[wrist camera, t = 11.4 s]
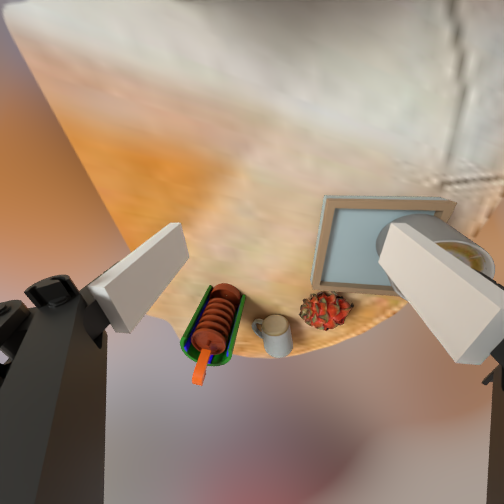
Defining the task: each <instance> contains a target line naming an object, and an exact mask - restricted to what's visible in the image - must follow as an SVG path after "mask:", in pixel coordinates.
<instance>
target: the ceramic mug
mask: <svg viewBox="0 0 504 504" xmlns="http://www.w3.org/2000/svg"><path fill="white" fill-rule="evenodd" d="M256 323H259V324H262V332H261V331H260V330H259V329H258V328H257V327H256ZM252 329H253V331H254V332H255V334H256V335H258V336H259V337H260V338H262V339H263V342H264V347H265V350H266V352H267V353H268V354H269V355H271V356H272V357H275V358H282V357H285V356H287V355H288V354H289V353H290V352H291V351H292V348H293V341H292V335H291V329H290V324H289V322H288V320H287V319H286V318H285V317H284V316H281V315H270V316H268V317H267V318H265V319H264V320H263V319H255V320H254V322H253V323H252Z"/></svg>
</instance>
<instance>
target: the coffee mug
mask: <svg viewBox="0 0 504 504" xmlns="http://www.w3.org/2000/svg"><path fill="white" fill-rule="evenodd" d="M391 223H406V224H408V225H409V226H411V227H412V228H414V229H415V230H417V231H418V232H420V233H421V234H422V235H424V236H425V237H427V238H428V239H430V240H431V241H433V242H434V243H436V244H437V245H438V246H440V247H441V248H443V249H444V250H446V251H447V252H449V253H450V254H451V255H453V256H454V257H456V258H457V259H459V260H460V261H462V262H463V263H465V264H466V265H467V266H469V267H471V268H473V269H475V270H477V271H479V272H482V273H484V274H485V275H487V276H488V277H490V278H491V279H493V277H494V274H495V265H494V261H493V259H492V257H491V256H490V255H489V253H488V252H487V251H485V250H484V249H483V248H481V247H480V246H479V245H477V244H476V243H474V242H473V241H471V240H470V239H468V238H467V237H466V236H464V235H463V234H461V233H460V232H458V231H457V230H455V229H454V228H452V227H451V226H449V225H448V224H447V223H445V222H444V221H442V220H441V219H439V218H437V217H435V216H432V215H428V214H410V215H406V216H402V217H399V218H397V219H395V220H393V221H392V222H390V223H389V224H387V225H386V226H385V227H384V228H383V229H382V230H381V232H380V233H379V235H378V237H377V240H376V251H377V253H378V256H379V258H380V255H381V252H382V249H383V246H384V243H385V240H386V237H387V234H388V231H389V228H390V225H391ZM386 274H387V273H386ZM387 277H388V279H389V281H390V284H391V286H392V287H393V289H394V291H395V292H396V293H397V294H398V295H399V296H400V297H402V298H403V299H405V300H407V299H406V298H405V296H404V295H403V294H402V293H401V291H400V290H399V289H398V287H397V286H396V285H395V283H394V282H393V281H392V280H391V278H390V277H389V276H388V274H387ZM407 301H408V300H407Z"/></svg>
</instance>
